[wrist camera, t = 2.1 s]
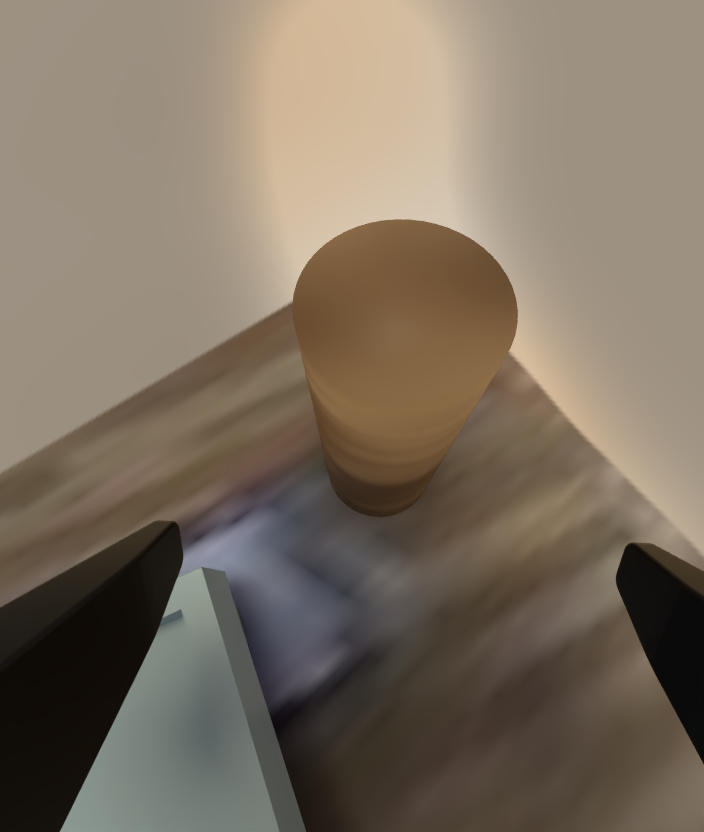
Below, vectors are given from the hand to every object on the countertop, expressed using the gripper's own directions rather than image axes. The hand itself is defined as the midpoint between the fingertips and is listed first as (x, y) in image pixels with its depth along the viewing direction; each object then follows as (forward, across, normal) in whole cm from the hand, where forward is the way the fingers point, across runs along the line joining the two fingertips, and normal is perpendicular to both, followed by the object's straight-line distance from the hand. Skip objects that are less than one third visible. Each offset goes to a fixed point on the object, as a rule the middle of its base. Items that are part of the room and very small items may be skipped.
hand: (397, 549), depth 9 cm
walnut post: (+12, 0, +5) cm, 13 cm away
